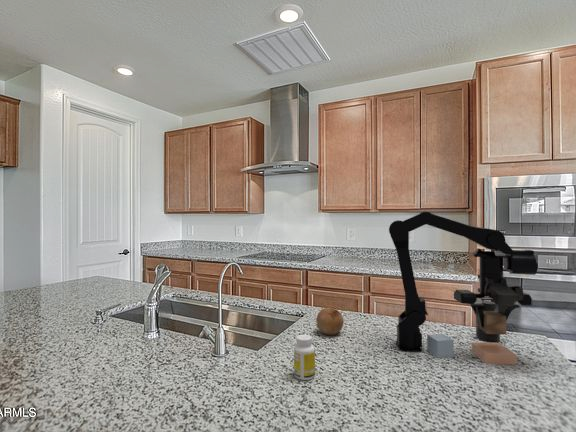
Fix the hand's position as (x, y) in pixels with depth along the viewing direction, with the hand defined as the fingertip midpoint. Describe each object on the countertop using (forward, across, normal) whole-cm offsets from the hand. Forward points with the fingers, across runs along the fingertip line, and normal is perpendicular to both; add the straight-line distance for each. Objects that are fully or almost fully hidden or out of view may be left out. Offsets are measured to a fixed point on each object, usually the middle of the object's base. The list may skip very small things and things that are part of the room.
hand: (491, 327), depth 91 cm
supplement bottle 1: (+9, -53, -16) cm, 56 cm away
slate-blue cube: (+9, -14, +1) cm, 16 cm away
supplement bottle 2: (+9, +6, +15) cm, 18 cm away
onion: (+9, -46, +15) cm, 49 cm away
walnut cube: (+1, 0, 0) cm, 1 cm away
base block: (+9, 0, 0) cm, 9 cm away
